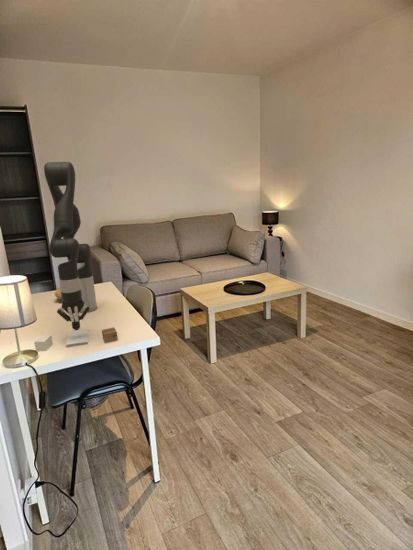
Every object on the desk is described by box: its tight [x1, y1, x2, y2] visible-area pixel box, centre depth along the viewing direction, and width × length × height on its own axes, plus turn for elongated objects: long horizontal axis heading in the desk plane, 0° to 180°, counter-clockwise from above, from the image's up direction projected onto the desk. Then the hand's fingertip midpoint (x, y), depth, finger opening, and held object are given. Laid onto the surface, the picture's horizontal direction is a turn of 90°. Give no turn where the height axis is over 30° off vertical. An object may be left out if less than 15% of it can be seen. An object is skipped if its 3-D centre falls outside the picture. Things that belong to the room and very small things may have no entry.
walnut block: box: [101, 327, 119, 344], centre depth 146 cm, size 5×5×4 cm
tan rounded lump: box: [54, 287, 62, 301], centre depth 201 cm, size 8×22×15 cm
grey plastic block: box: [33, 334, 54, 352], centre depth 142 cm, size 6×4×4 cm, turn 179°
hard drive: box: [65, 329, 90, 348], centre depth 148 cm, size 2×8×12 cm
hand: (76, 329), depth 147 cm, fingers closed
